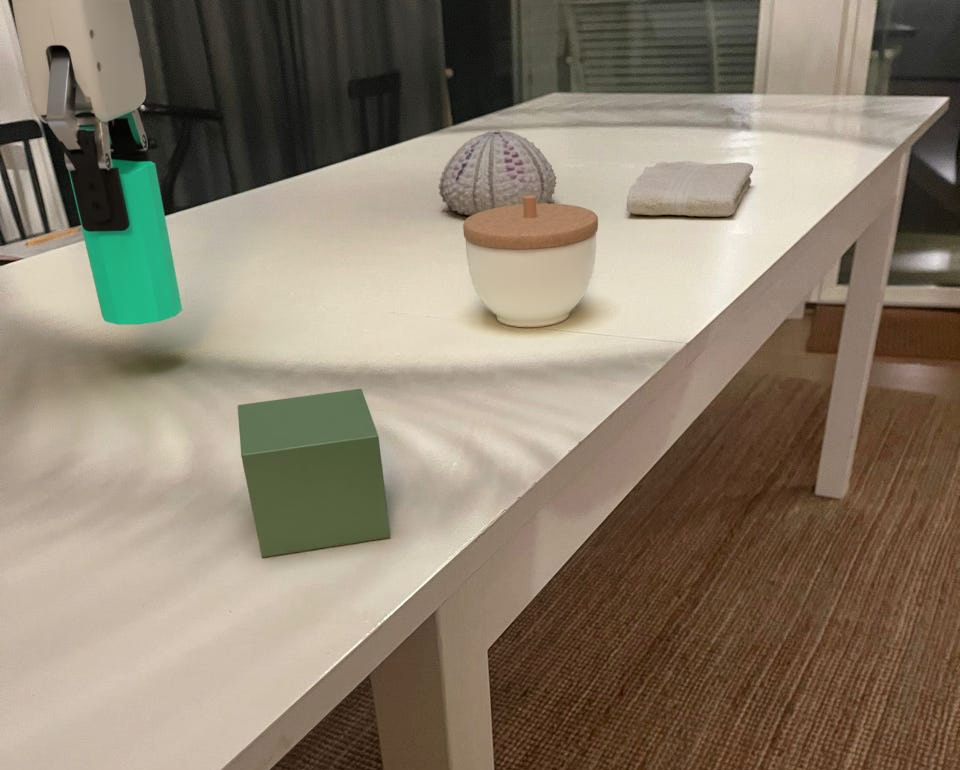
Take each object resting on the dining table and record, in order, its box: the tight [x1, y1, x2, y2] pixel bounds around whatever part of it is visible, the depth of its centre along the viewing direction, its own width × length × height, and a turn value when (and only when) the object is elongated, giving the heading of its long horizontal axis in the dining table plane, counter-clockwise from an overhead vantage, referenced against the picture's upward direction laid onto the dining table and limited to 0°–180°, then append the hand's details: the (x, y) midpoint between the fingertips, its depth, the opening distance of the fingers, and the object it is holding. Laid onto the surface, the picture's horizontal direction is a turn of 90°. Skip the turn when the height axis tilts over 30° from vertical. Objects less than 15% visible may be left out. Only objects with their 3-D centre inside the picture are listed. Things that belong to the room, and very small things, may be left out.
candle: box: [68, 159, 183, 326], centre depth 76 cm, size 6×6×12 cm
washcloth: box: [626, 160, 754, 218], centre depth 117 cm, size 12×18×3 cm, turn 162°
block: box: [237, 388, 391, 558], centre depth 57 cm, size 7×7×6 cm
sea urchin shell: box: [438, 130, 557, 217], centre depth 117 cm, size 13×14×8 cm
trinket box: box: [462, 195, 599, 328], centre depth 84 cm, size 11×11×9 cm
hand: (122, 216), depth 76 cm, fingers closed on candle, 5 cm apart
